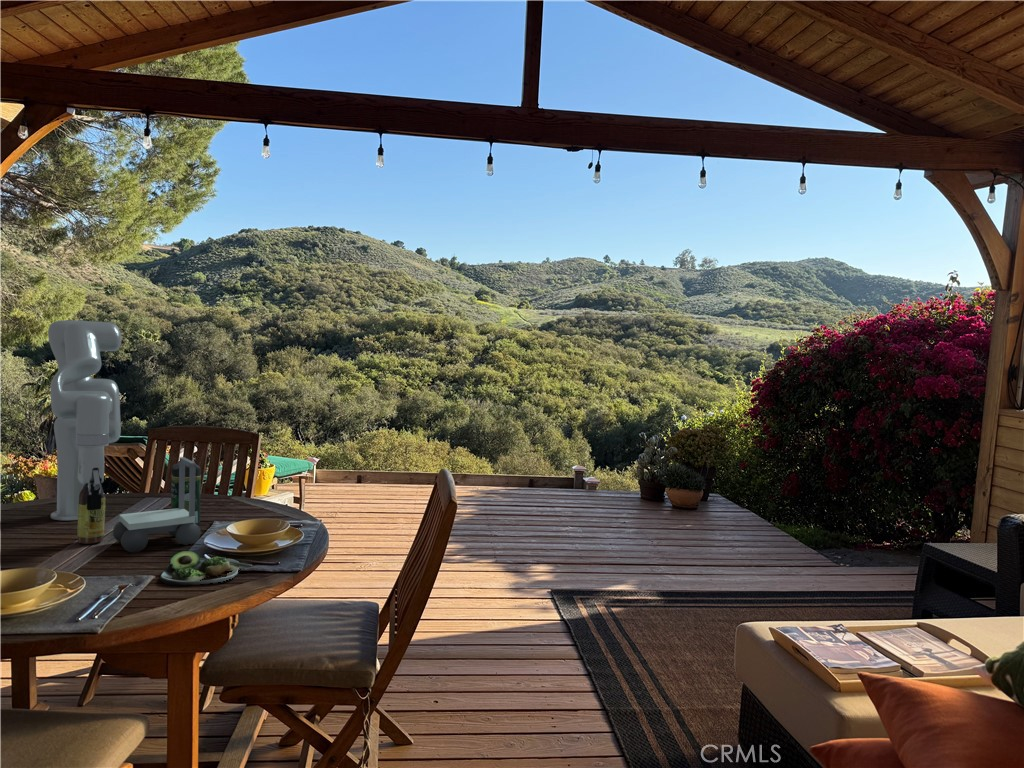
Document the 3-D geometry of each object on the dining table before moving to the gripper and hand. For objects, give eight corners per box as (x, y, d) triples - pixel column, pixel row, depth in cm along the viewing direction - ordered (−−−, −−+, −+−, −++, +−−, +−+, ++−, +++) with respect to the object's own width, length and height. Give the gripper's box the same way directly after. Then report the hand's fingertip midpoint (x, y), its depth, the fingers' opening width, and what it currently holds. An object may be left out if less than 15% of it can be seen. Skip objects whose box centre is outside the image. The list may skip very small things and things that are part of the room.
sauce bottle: (91, 546, 183) (92, 471, 182) (71, 543, 184) (72, 469, 183) (110, 539, 189) (111, 467, 188) (90, 536, 191) (91, 465, 189)
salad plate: (256, 562, 177) (256, 544, 177) (245, 586, 159) (246, 566, 159) (174, 564, 172) (174, 546, 172) (154, 589, 155) (154, 568, 155)
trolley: (112, 543, 187) (113, 461, 186) (187, 533, 199) (189, 456, 198) (122, 554, 178) (123, 468, 177) (200, 543, 190) (201, 462, 189)
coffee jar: (168, 521, 212) (169, 460, 211) (196, 518, 216) (197, 459, 215) (173, 528, 204) (174, 465, 203) (202, 525, 208) (203, 464, 207)
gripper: (70, 436, 189) (70, 501, 190) (81, 445, 176) (80, 515, 177) (102, 435, 194) (101, 498, 195) (115, 444, 181) (114, 512, 182)
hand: (91, 506), depth 186 cm, fingers closed on sauce bottle, 6 cm apart
